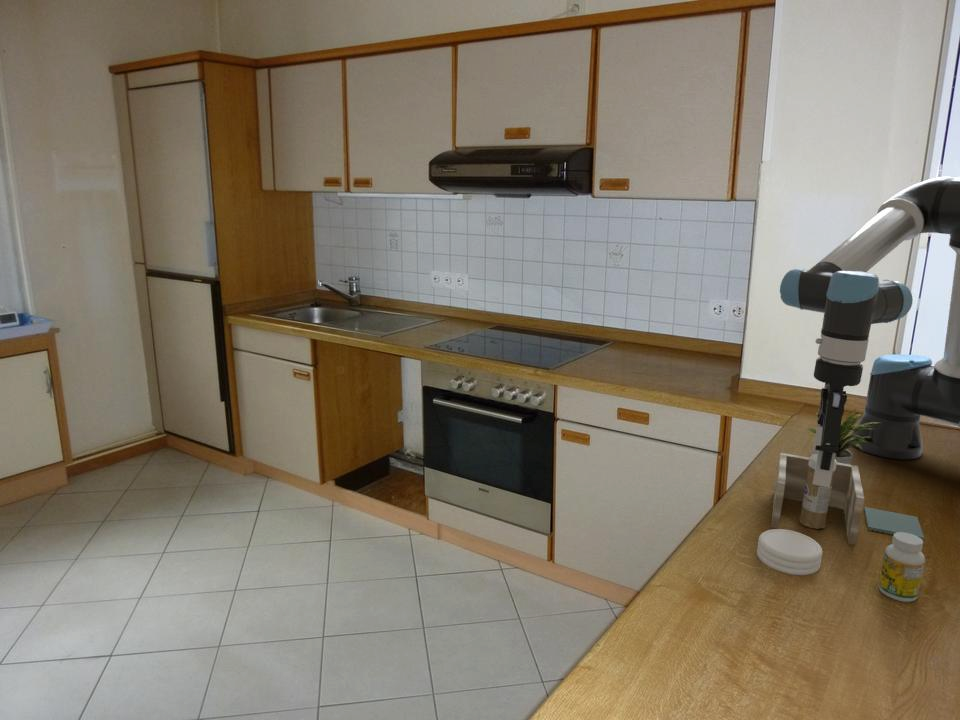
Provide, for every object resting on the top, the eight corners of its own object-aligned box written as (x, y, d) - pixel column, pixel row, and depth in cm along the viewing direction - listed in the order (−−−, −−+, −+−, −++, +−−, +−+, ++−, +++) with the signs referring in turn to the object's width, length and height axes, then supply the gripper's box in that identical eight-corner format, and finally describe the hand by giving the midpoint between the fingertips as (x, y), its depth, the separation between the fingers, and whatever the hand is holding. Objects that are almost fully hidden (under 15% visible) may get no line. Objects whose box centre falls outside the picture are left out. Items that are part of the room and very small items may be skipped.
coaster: (782, 540, 127) (785, 523, 126) (832, 568, 118) (836, 549, 117) (743, 553, 122) (746, 535, 121) (792, 582, 114) (796, 563, 113)
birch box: (774, 493, 145) (780, 452, 143) (850, 508, 140) (857, 465, 138) (771, 527, 131) (778, 482, 129) (855, 544, 126) (864, 498, 123)
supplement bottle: (924, 603, 109) (936, 547, 106) (889, 602, 109) (901, 546, 106) (904, 583, 114) (915, 530, 111) (871, 582, 114) (881, 529, 111)
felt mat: (863, 509, 139) (864, 506, 139) (916, 519, 136) (917, 516, 136) (867, 529, 131) (868, 526, 131) (923, 540, 128) (924, 537, 128)
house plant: (854, 501, 143) (868, 425, 139) (785, 479, 152) (796, 407, 148) (875, 481, 153) (889, 409, 149) (809, 462, 162) (821, 394, 158)
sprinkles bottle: (794, 518, 135) (804, 452, 131) (816, 518, 135) (828, 452, 132) (807, 530, 130) (818, 462, 127) (830, 529, 131) (842, 462, 127)
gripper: (815, 343, 137) (798, 445, 142) (818, 372, 115) (797, 492, 120) (858, 348, 134) (839, 452, 140) (870, 379, 112) (846, 502, 117)
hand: (820, 471), depth 130 cm, fingers open, 13 cm apart
